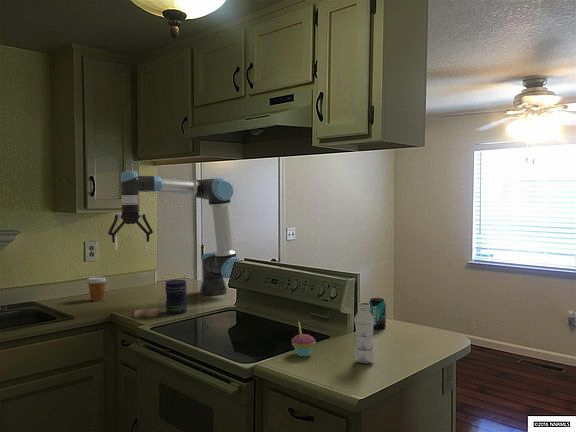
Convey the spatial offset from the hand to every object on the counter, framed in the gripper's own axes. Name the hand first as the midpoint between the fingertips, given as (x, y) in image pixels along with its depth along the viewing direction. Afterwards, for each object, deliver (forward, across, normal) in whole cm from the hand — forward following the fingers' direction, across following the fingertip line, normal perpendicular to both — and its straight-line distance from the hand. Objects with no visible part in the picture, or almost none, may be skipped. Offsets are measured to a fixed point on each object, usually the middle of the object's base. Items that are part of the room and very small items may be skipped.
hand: (131, 249), depth 235 cm
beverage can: (+31, -103, +50) cm, 119 cm away
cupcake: (+31, -65, +75) cm, 104 cm away
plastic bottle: (+31, -83, +88) cm, 125 cm away
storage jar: (+31, -20, +2) cm, 37 cm away
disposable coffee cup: (+31, +21, -36) cm, 52 cm away
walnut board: (+31, -6, +2) cm, 32 cm away
